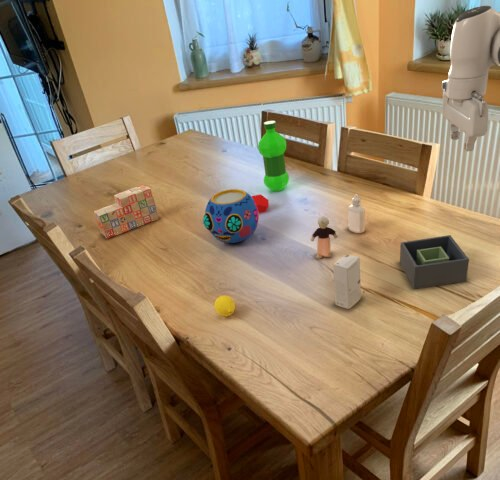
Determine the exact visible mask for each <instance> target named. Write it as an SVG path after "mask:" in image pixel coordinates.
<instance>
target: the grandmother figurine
mask: <svg viewBox="0 0 500 480" xmlns="http://www.w3.org/2000/svg"><path fill="white" fill-rule="evenodd" d="M329 224H330V220H329V219H328V217H326V216H319V217H318V219H317V225H318V227H317V228H316V230H314V232H313V234H312V236H311V238H310V241H311V242H314V241H315V240H316V238H317V240H316V242H317V243H316V244H317V245H316V248H317V249H316V251H317V254H316V256H315V258H316V259H322V258H323V257H324V258H331V257H332V254H331V238H330V237H331V236H332V237H333V238H334V239H337V238H338V234H337V232H336V230H334V229H333V228H331V227H329V226H328V225H329ZM330 235H331V236H330Z"/></svg>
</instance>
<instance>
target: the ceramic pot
mask: <svg viewBox="0 0 500 480" xmlns="http://www.w3.org/2000/svg"><path fill="white" fill-rule="evenodd" d="M251 196H252V195H250V194H249V193H248V192H247V191H246V190H245V191H244V190H243V189H239V188H238V189H237V188H233V189H231V188H230V189H225V190H221V191H218V192H216V193H215V194H213V195H212V196H211V197H210V198H209V200H208V201H207V204H206V206H205V211H204V215H203V218H202V223H203V226H204V227H205V229H206V230H208V231H209V232H210V234H211V235H212V236H213V237H214V238H215V240H217V241H220V242H222V243H228V244H236V243H240V242H243V241H245V240H247V239H248V238H250V237H251V236H253V234H254V233H255V232H256V230H257V227H258V225H259V219H260V213H259V212H258V208H257V206H256V204H255V201H254V199H253V198H252V197H251Z"/></svg>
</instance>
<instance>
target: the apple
mask: <svg viewBox="0 0 500 480" xmlns="http://www.w3.org/2000/svg"><path fill="white" fill-rule="evenodd" d="M250 196H251V197H252V198H253V199H254V201H255V204H256V206H257V208H258V212H259V214H262V213H266V212H267V210H268V209H269V207H270V204H269V199H268V198H266V197H265V196H264V195H263V194H255V195H250Z"/></svg>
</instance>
